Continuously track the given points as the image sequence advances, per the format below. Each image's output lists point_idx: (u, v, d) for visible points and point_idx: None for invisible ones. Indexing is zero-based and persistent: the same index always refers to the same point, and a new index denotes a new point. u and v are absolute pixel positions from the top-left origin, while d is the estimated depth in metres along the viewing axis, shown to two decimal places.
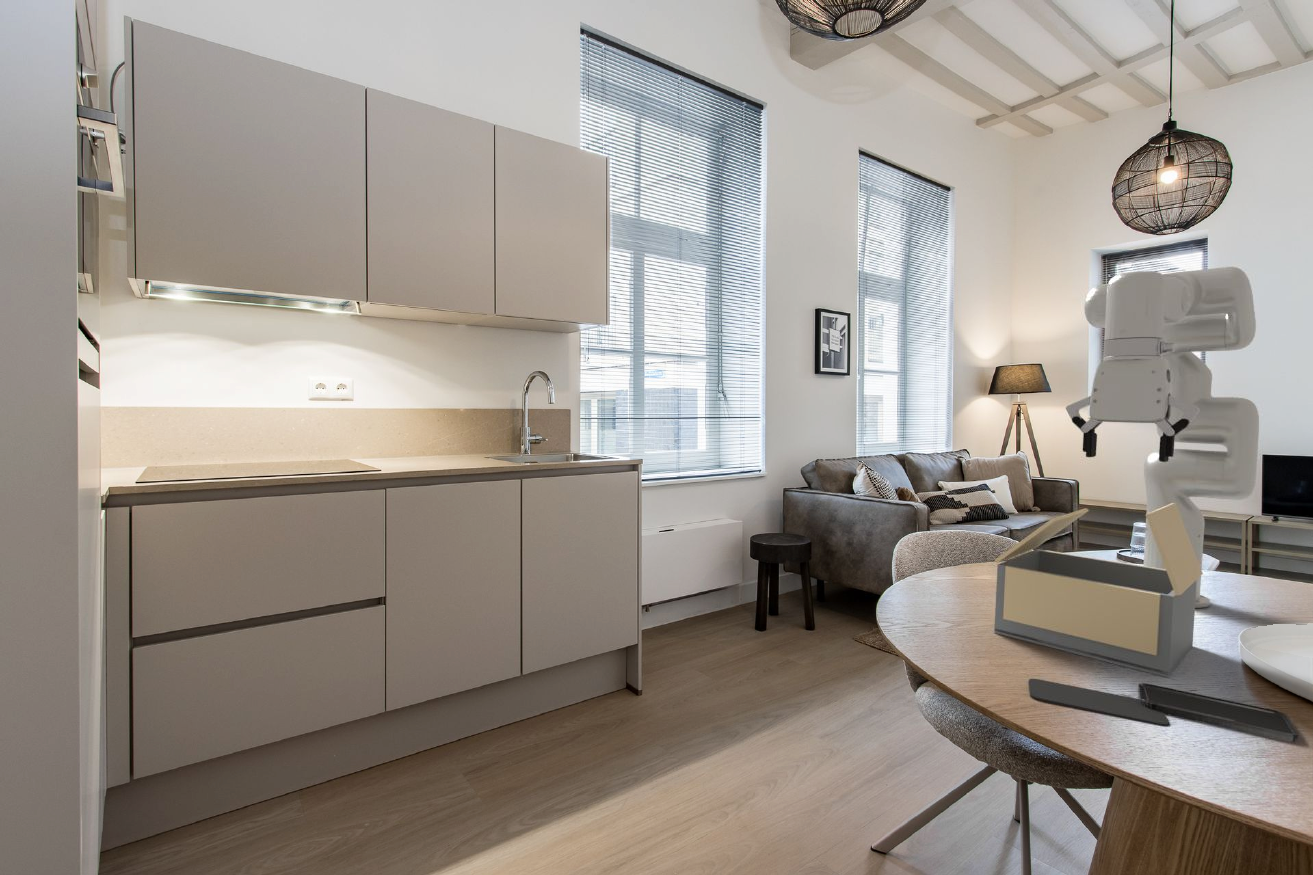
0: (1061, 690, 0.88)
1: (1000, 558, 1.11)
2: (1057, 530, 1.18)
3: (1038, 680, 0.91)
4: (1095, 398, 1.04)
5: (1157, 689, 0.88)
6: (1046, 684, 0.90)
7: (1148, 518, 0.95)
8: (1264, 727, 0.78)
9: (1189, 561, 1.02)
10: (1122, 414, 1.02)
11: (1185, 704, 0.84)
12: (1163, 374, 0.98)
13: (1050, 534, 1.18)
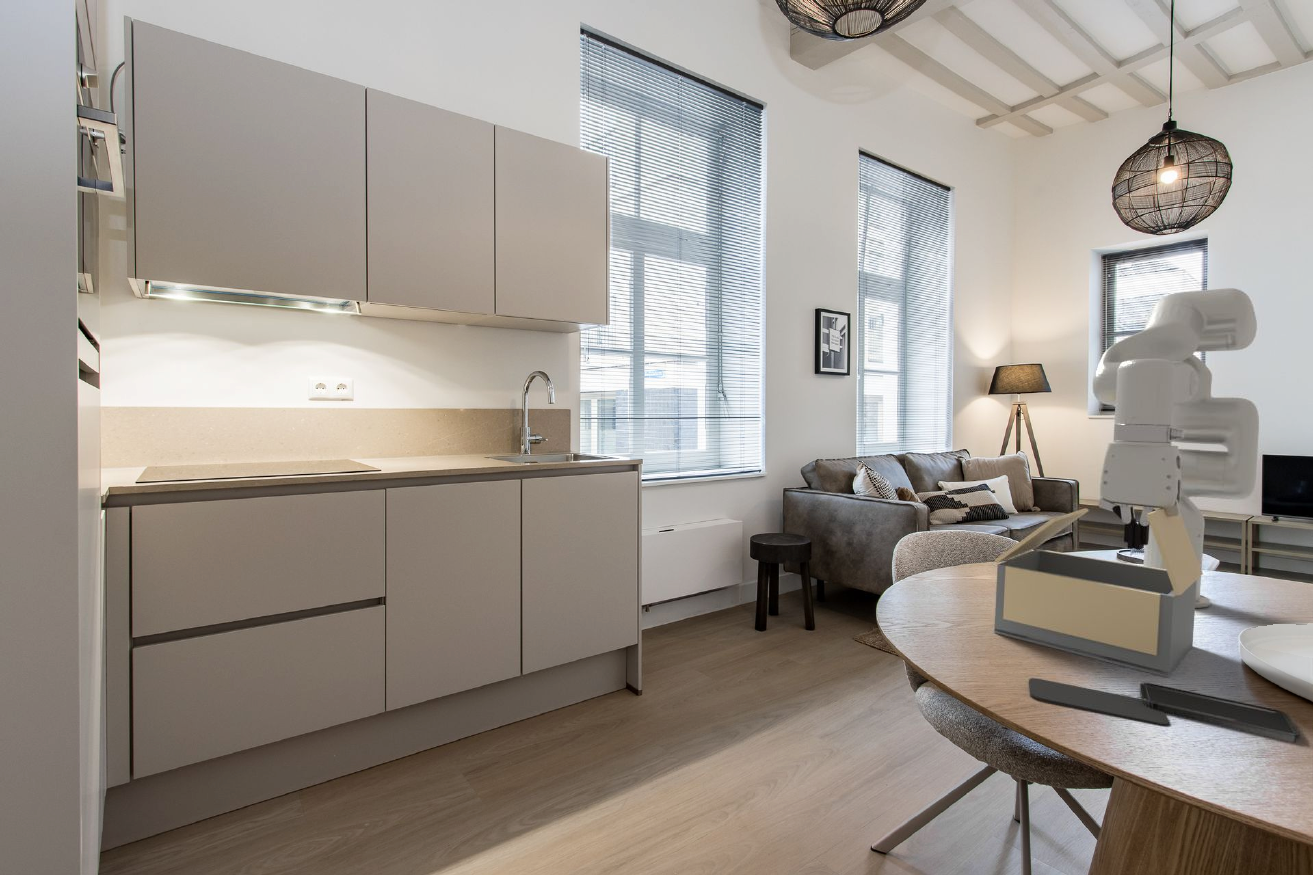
0: (1061, 690, 0.88)
1: (1000, 558, 1.11)
2: (1057, 530, 1.18)
3: (1038, 680, 0.91)
4: (1105, 480, 1.06)
5: (1159, 688, 0.88)
6: (1046, 683, 0.90)
7: (1149, 518, 0.95)
8: (1265, 727, 0.78)
9: (1189, 561, 1.02)
10: (1132, 497, 1.03)
11: (1186, 703, 0.84)
12: (1173, 461, 1.00)
13: (1050, 534, 1.18)
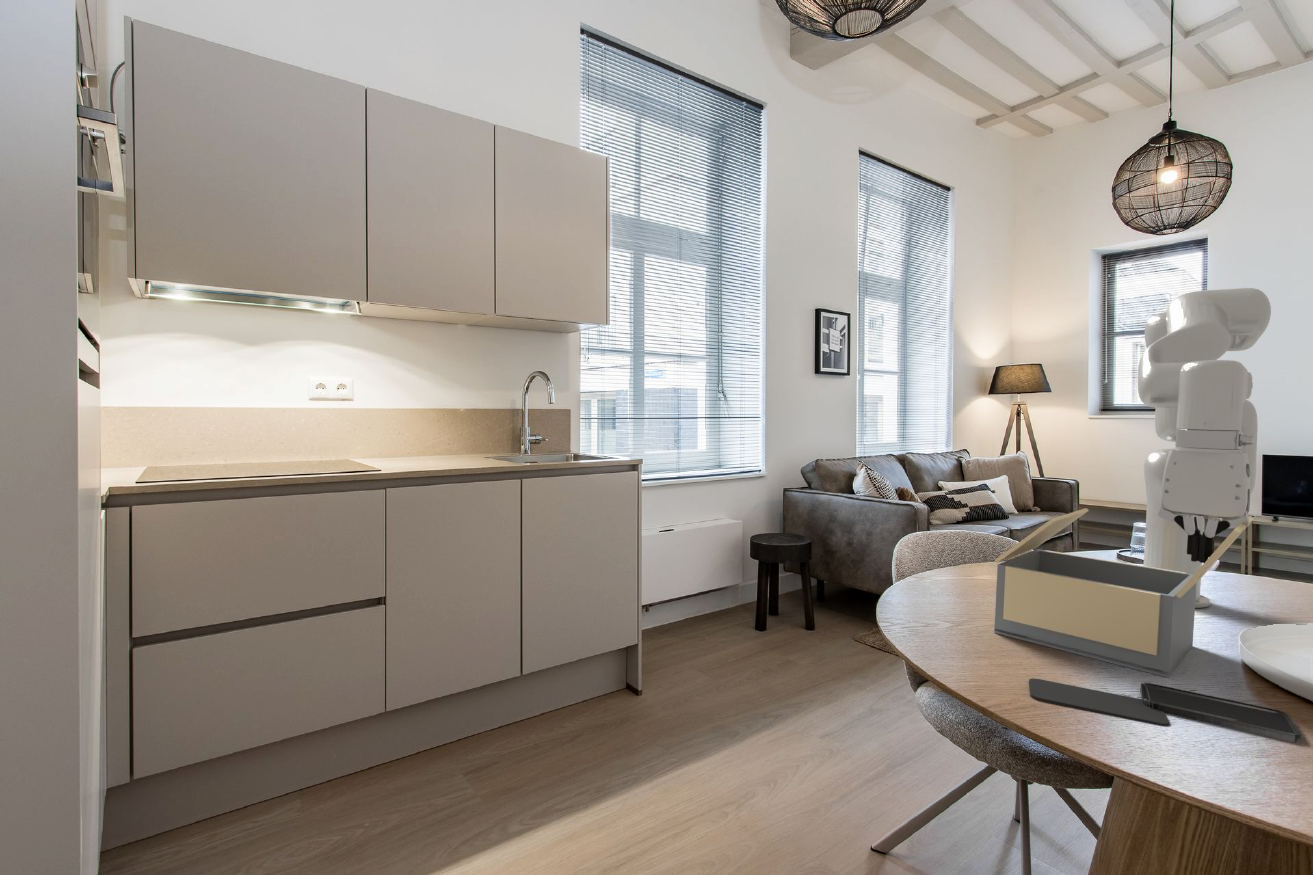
0: (1061, 690, 0.88)
1: (1000, 558, 1.11)
2: (1057, 530, 1.18)
3: (1038, 680, 0.91)
4: (1167, 488, 1.00)
5: (1159, 688, 0.88)
6: (1046, 683, 0.90)
7: (1232, 534, 0.89)
8: (1266, 727, 0.78)
9: None
10: (1197, 507, 0.97)
11: (1187, 703, 0.84)
12: (1242, 469, 0.94)
13: (1050, 534, 1.18)
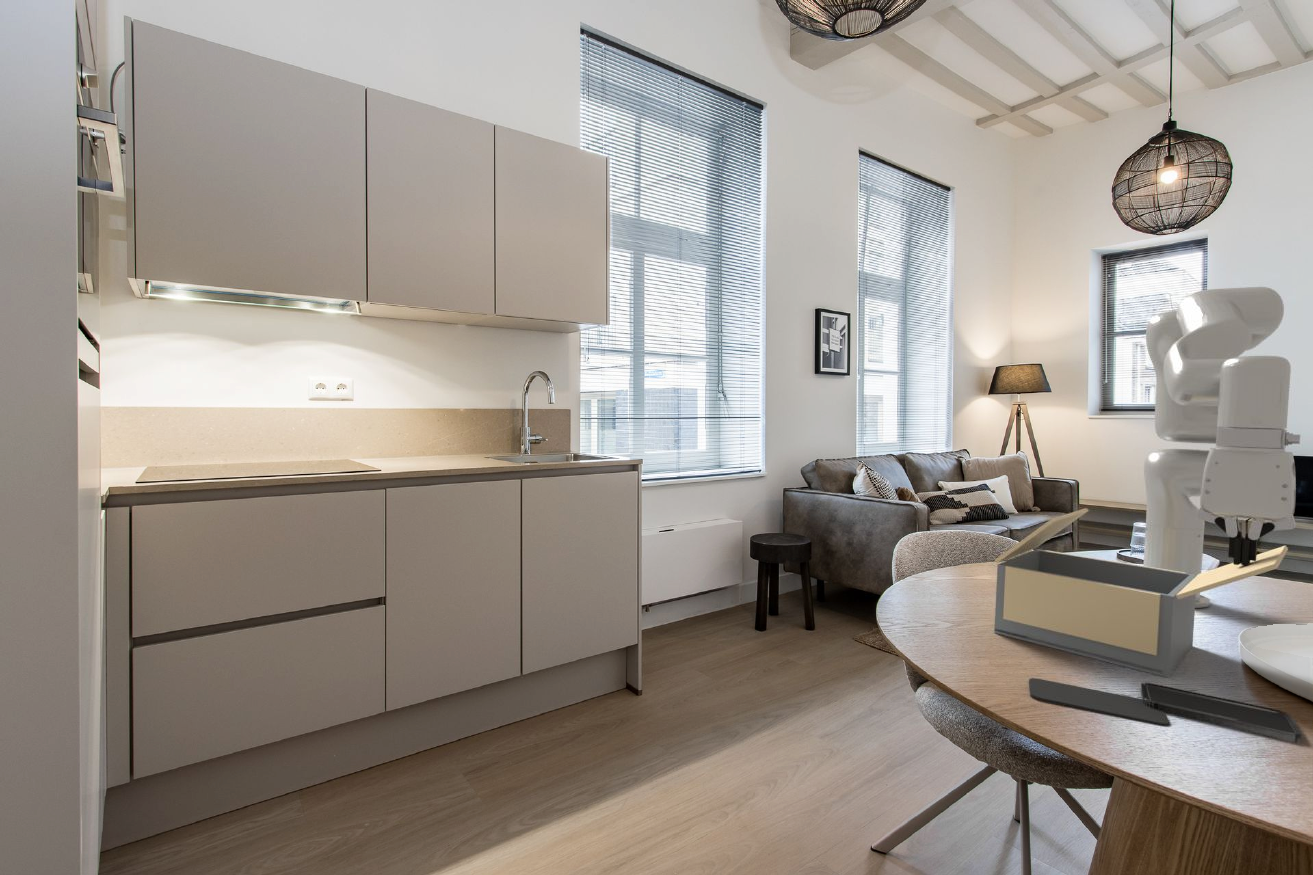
0: (1061, 690, 0.88)
1: (1000, 558, 1.11)
2: (1057, 530, 1.18)
3: (1038, 680, 0.91)
4: (1207, 489, 0.96)
5: (1160, 688, 0.88)
6: (1046, 683, 0.90)
7: (1269, 567, 0.86)
8: (1266, 726, 0.78)
9: None
10: (1240, 509, 0.94)
11: (1187, 703, 0.84)
12: (1289, 469, 0.90)
13: (1050, 534, 1.18)
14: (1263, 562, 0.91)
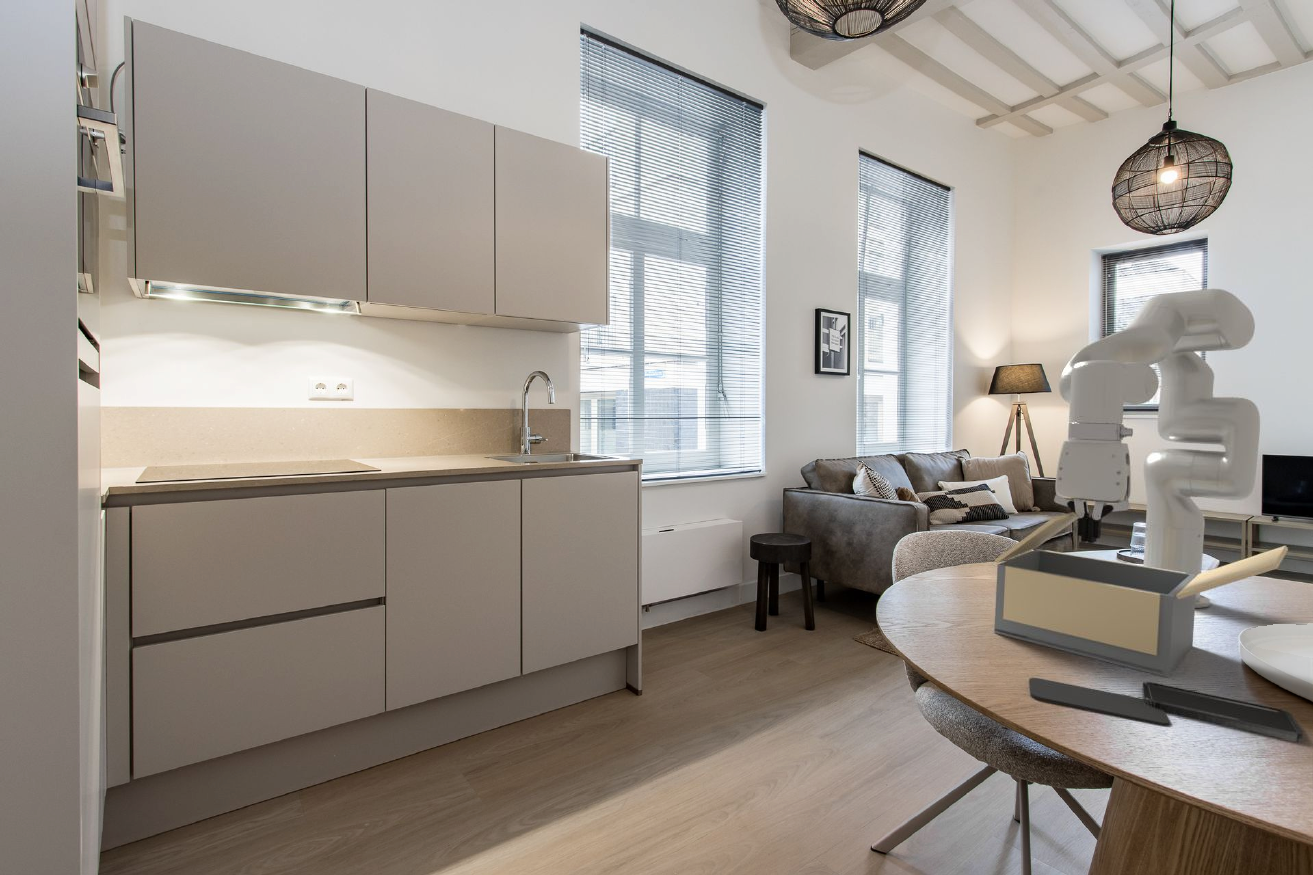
0: (1061, 689, 0.88)
1: (1000, 558, 1.11)
2: (1057, 530, 1.18)
3: (1039, 679, 0.91)
4: (1060, 476, 1.11)
5: (1161, 687, 0.88)
6: (1047, 683, 0.90)
7: (1269, 567, 0.86)
8: (1268, 726, 0.78)
9: None
10: (1085, 493, 1.08)
11: (1189, 703, 0.84)
12: (1122, 458, 1.04)
13: (1050, 534, 1.18)
14: (1263, 562, 0.91)
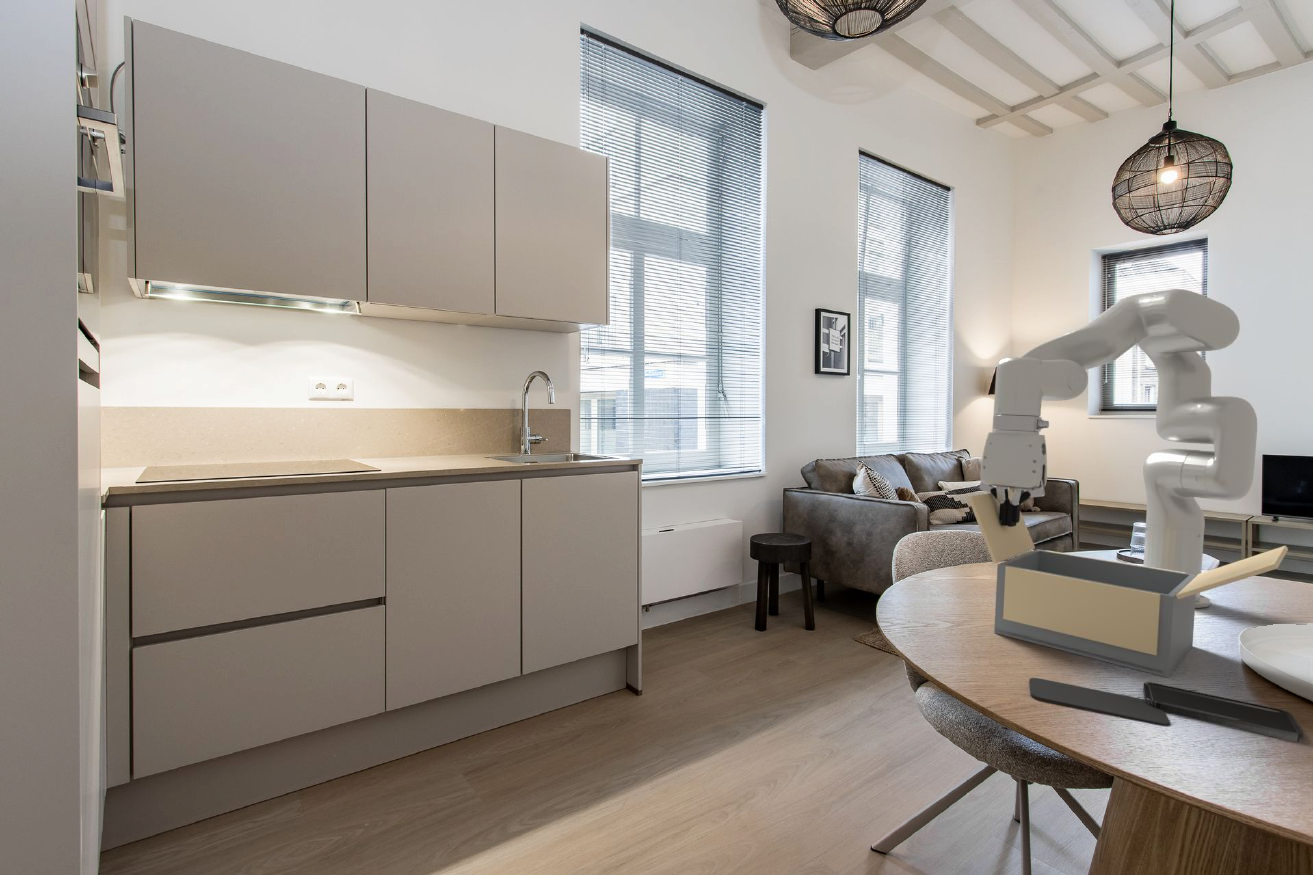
0: (1061, 689, 0.88)
1: (993, 557, 1.12)
2: None
3: (1039, 679, 0.91)
4: (984, 464, 1.19)
5: (1162, 688, 0.88)
6: (1047, 683, 0.90)
7: (1269, 567, 0.86)
8: (1269, 726, 0.78)
9: None
10: (1005, 480, 1.16)
11: (1190, 703, 0.84)
12: (1038, 448, 1.13)
13: None
14: (1263, 562, 0.91)
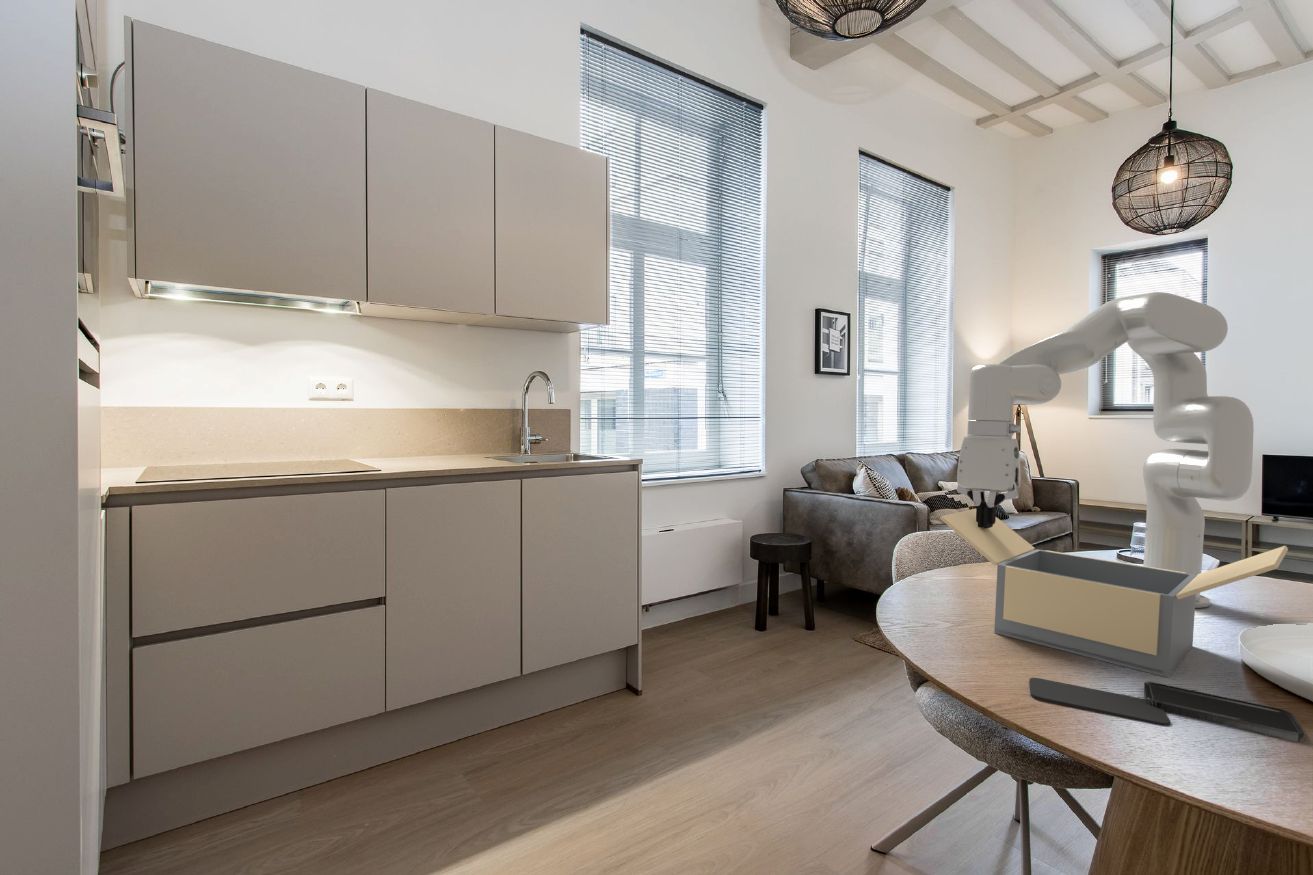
0: (1062, 689, 0.88)
1: (991, 559, 1.12)
2: (999, 527, 1.26)
3: (1039, 679, 0.91)
4: (960, 468, 1.23)
5: (1163, 687, 0.88)
6: (1047, 683, 0.90)
7: (1269, 567, 0.86)
8: (1269, 726, 0.78)
9: None
10: (980, 483, 1.20)
11: (1190, 702, 0.84)
12: (1010, 452, 1.17)
13: (1000, 531, 1.24)
14: (1263, 562, 0.91)
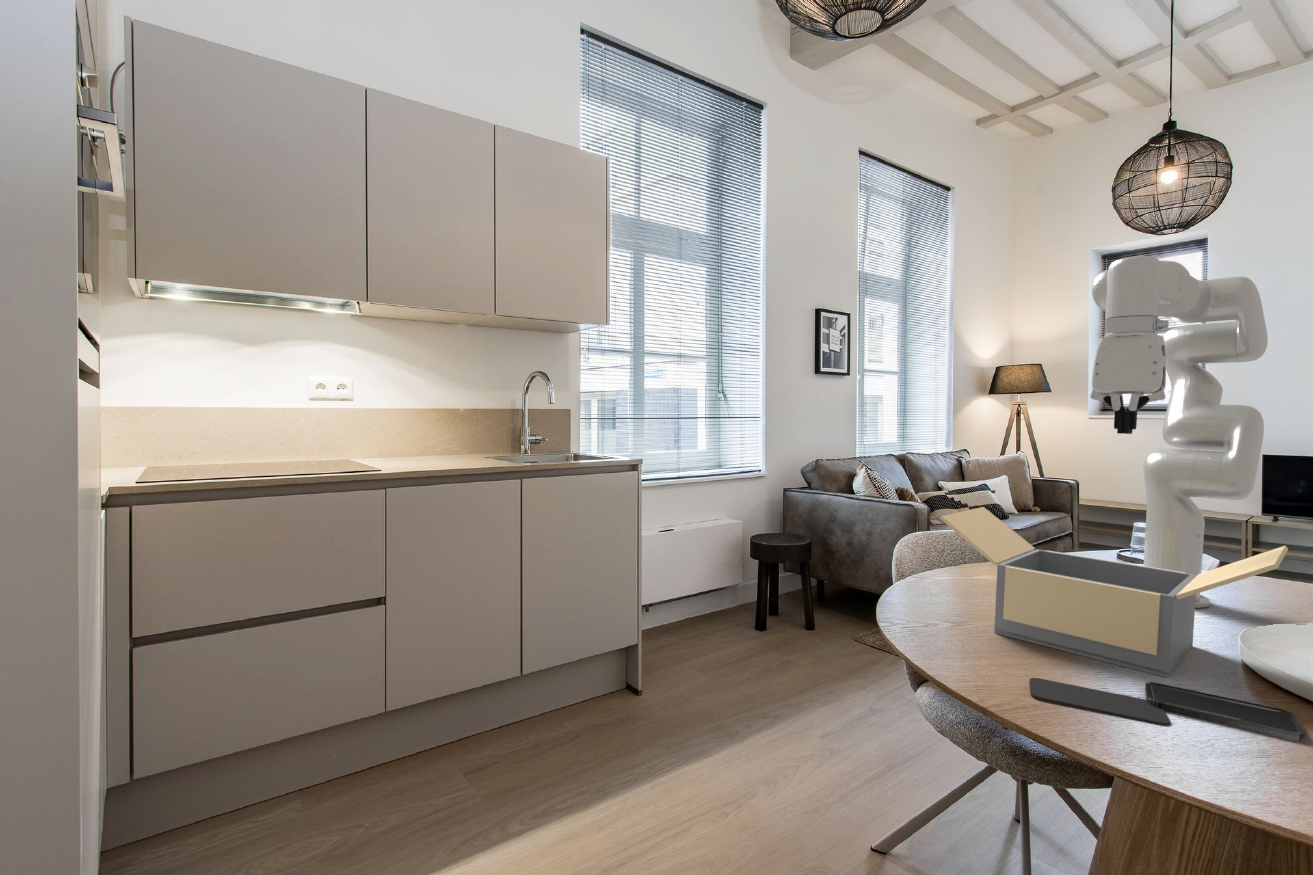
0: (1062, 689, 0.88)
1: (991, 559, 1.12)
2: (999, 527, 1.26)
3: (1039, 679, 0.91)
4: (1097, 372, 1.15)
5: (1164, 687, 0.88)
6: (1047, 683, 0.90)
7: (1269, 567, 0.86)
8: (1270, 726, 0.78)
9: None
10: (1121, 385, 1.12)
11: (1192, 703, 0.84)
12: (1158, 348, 1.09)
13: (1000, 531, 1.24)
14: (1263, 562, 0.91)
